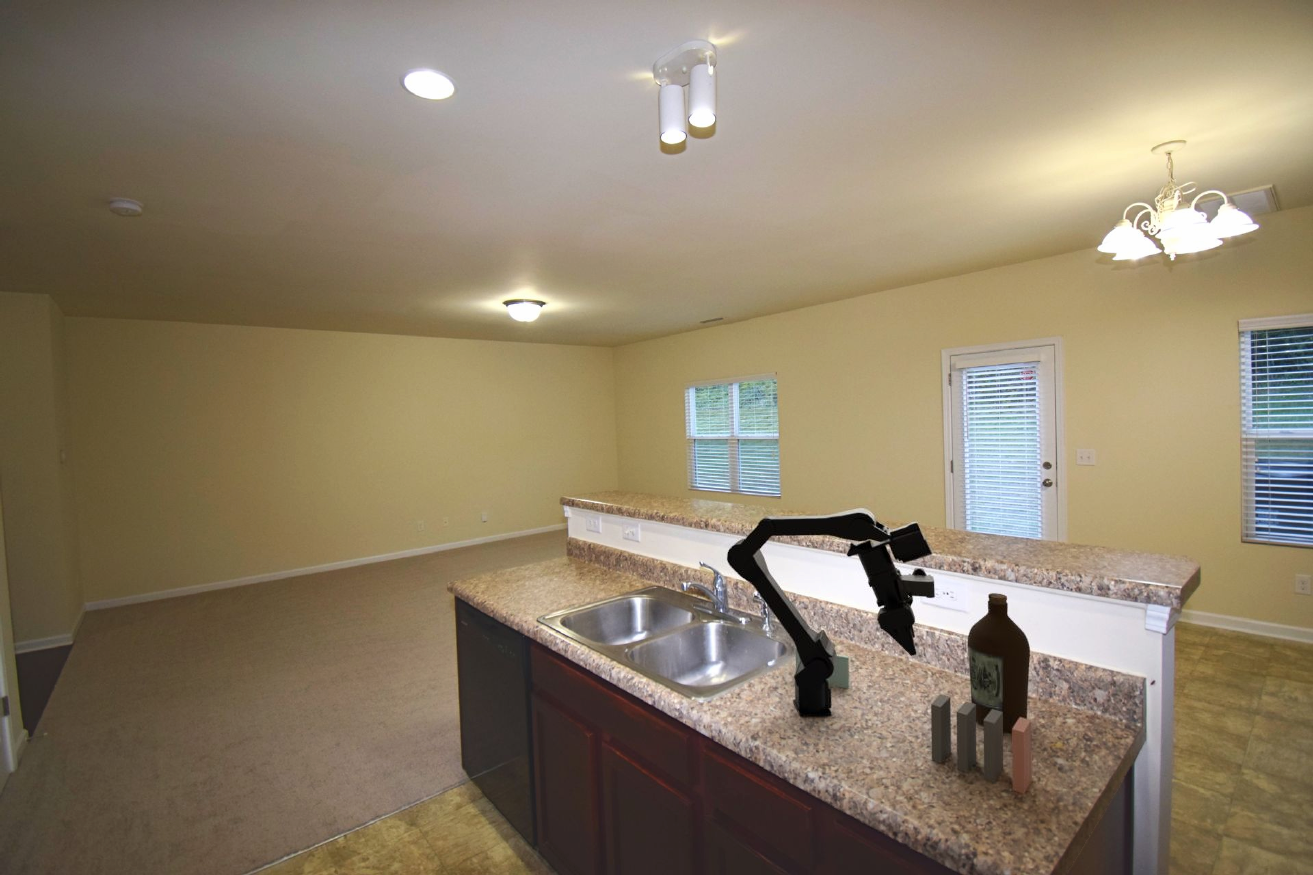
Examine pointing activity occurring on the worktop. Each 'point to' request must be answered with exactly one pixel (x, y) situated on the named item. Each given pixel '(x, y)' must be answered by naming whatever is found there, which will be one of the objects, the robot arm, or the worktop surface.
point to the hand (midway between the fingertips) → (913, 645)
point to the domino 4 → (1021, 755)
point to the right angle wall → (836, 671)
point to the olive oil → (999, 664)
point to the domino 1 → (941, 728)
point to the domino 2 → (966, 737)
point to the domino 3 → (993, 745)
